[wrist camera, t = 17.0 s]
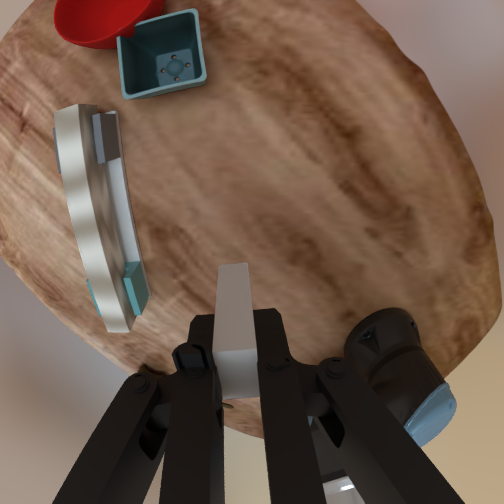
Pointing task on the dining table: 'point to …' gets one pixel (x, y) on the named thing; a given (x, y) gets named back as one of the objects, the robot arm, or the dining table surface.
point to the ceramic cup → (102, 20)
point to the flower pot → (162, 56)
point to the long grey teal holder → (119, 207)
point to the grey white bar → (92, 215)
